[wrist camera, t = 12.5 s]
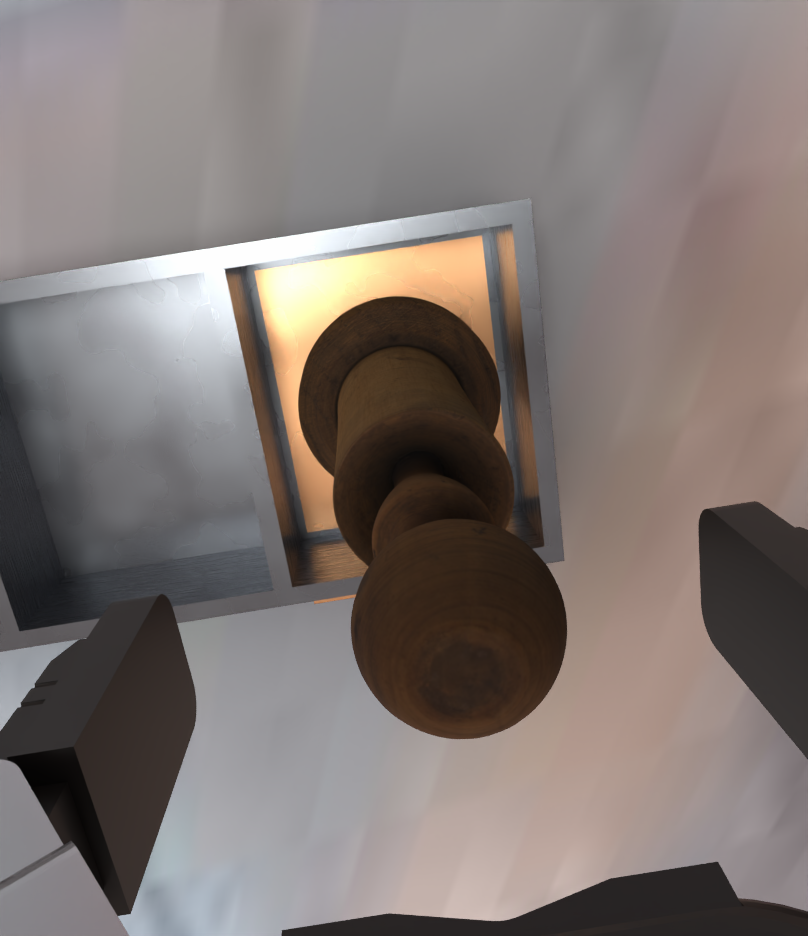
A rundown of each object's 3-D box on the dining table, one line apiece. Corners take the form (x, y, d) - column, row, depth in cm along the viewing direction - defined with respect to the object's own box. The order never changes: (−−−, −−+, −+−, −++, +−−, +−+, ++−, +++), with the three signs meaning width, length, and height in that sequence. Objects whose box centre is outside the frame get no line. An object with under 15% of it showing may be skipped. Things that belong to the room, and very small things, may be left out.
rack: (499, 204, 26) (530, 198, 21) (531, 516, 30) (565, 571, 25) (-289, 326, 26) (-434, 349, 21) (-162, 628, 29) (-262, 705, 25)
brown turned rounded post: (368, 513, 28) (389, 962, 11) (263, 366, 26) (88, 625, 9) (524, 414, 27) (812, 729, 10) (426, 256, 25) (575, 310, 8)
